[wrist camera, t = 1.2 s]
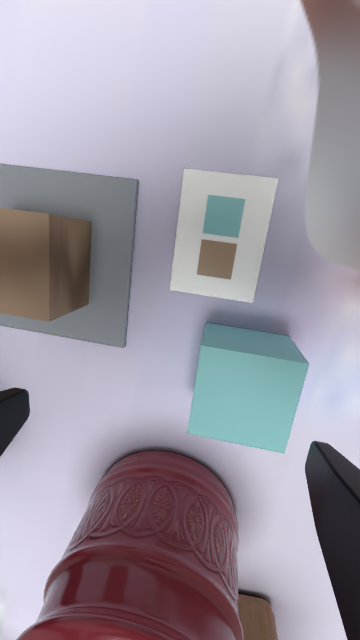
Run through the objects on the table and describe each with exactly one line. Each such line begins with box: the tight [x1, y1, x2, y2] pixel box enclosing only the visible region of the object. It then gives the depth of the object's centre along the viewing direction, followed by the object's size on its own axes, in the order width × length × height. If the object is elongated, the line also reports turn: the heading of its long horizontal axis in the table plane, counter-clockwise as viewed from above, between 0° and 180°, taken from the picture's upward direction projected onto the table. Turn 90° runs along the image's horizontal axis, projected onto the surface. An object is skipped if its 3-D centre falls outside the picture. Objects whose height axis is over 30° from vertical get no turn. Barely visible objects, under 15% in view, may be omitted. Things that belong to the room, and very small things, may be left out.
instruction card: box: [169, 168, 279, 303], centre depth 19 cm, size 8×6×1 cm
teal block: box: [187, 323, 309, 453], centre depth 19 cm, size 6×6×5 cm
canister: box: [16, 451, 244, 640], centre depth 17 cm, size 13×13×18 cm
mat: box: [0, 164, 138, 348], centre depth 21 cm, size 12×12×1 cm
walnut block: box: [0, 208, 92, 322], centre depth 18 cm, size 6×6×5 cm
